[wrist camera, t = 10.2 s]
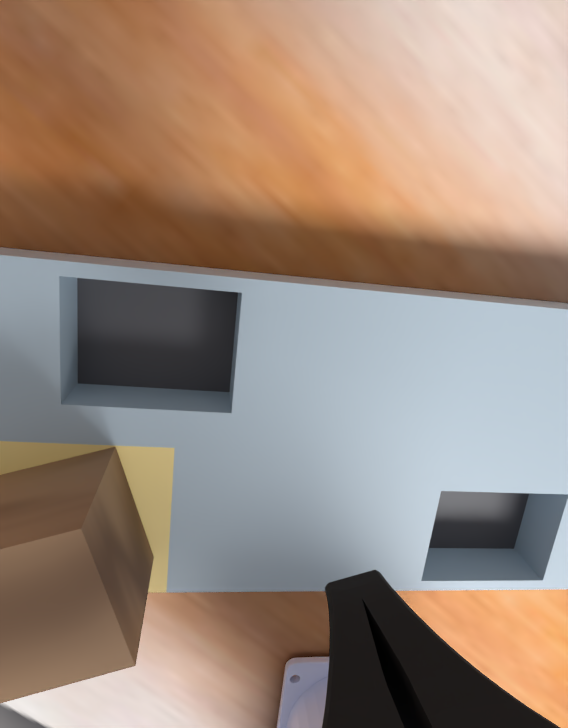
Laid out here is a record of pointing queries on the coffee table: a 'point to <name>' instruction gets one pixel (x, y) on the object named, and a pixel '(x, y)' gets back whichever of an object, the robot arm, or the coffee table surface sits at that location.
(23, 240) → the coffee table surface
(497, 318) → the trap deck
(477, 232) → the coffee table surface
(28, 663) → the walnut cube
